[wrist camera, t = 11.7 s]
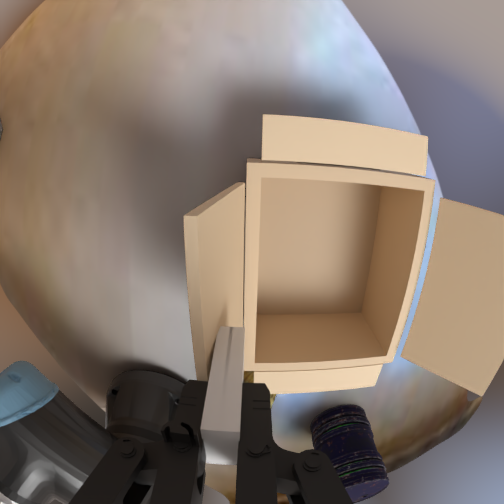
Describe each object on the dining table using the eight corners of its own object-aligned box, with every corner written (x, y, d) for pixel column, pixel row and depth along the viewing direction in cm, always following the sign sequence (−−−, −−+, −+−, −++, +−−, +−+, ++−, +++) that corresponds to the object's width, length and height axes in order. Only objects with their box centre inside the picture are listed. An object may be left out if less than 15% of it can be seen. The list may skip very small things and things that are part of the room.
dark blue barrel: (298, 424, 41) (310, 501, 27) (349, 395, 39) (375, 474, 25) (328, 442, 44) (342, 508, 30) (374, 417, 42) (398, 484, 28)
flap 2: (482, 396, 17) (483, 393, 18) (548, 231, 12) (547, 230, 12) (400, 356, 25) (402, 354, 25) (440, 198, 19) (441, 197, 20)
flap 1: (197, 216, 10) (183, 215, 10) (217, 459, 15) (209, 458, 15) (245, 182, 19) (237, 182, 19) (242, 365, 24) (236, 364, 24)
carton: (243, 341, 35) (243, 394, 27) (248, 124, 26) (248, 113, 18) (359, 338, 35) (383, 385, 27) (390, 138, 27) (438, 139, 18)
